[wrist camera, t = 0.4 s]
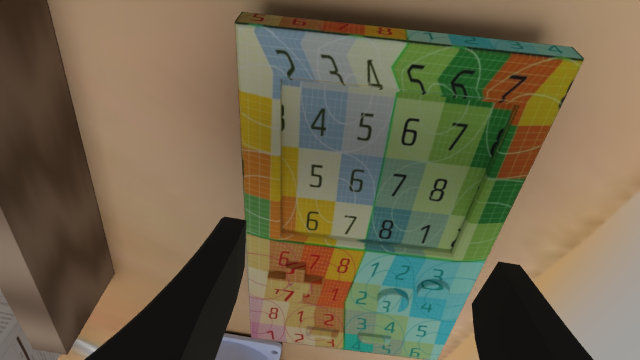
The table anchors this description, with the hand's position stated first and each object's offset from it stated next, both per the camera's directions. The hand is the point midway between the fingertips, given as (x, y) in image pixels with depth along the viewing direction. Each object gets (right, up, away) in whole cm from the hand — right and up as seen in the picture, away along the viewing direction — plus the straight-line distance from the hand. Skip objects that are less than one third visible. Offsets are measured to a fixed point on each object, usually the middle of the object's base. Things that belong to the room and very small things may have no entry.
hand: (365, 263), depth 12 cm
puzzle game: (+1, +2, +11) cm, 12 cm away
